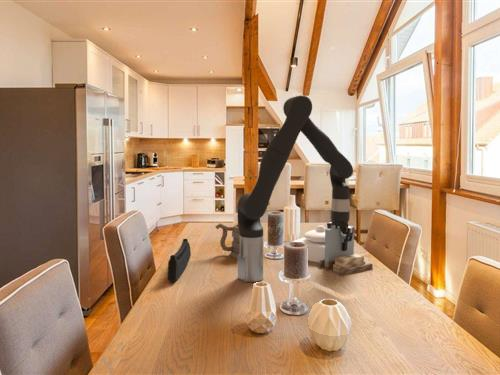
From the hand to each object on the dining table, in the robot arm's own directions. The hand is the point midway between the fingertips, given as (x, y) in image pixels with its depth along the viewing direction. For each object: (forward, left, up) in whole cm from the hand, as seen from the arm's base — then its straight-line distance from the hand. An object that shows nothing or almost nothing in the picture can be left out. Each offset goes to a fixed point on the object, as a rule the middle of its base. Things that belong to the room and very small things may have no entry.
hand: (339, 249), depth 177 cm
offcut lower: (0, -6, -7) cm, 9 cm away
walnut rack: (0, -3, -8) cm, 9 cm away
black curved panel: (-59, +31, -9) cm, 67 cm away
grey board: (0, 0, -7) cm, 7 cm away
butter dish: (+2, +15, -9) cm, 18 cm away
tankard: (-26, +42, -9) cm, 50 cm away
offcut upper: (0, -6, -4) cm, 7 cm away
